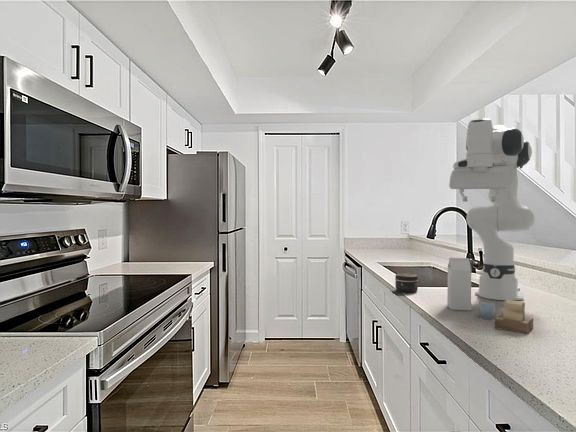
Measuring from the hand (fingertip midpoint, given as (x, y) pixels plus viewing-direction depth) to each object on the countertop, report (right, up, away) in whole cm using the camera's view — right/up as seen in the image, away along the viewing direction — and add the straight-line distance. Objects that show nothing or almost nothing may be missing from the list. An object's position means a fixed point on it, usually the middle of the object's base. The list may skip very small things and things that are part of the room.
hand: (479, 201), depth 153 cm
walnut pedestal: (+2, -40, -20) cm, 45 cm away
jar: (-15, -40, +40) cm, 58 cm away
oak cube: (+2, -37, -20) cm, 42 cm away
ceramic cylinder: (-1, -40, -8) cm, 41 cm away
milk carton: (-5, -40, +6) cm, 41 cm away
